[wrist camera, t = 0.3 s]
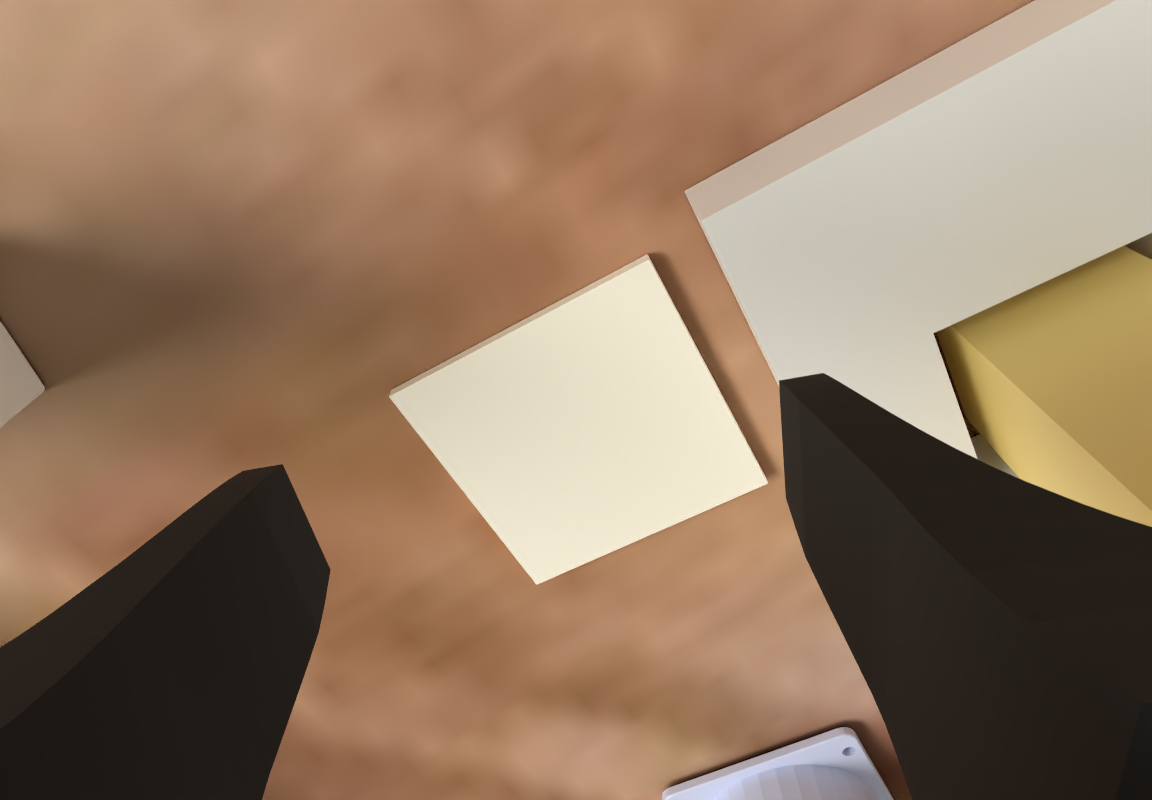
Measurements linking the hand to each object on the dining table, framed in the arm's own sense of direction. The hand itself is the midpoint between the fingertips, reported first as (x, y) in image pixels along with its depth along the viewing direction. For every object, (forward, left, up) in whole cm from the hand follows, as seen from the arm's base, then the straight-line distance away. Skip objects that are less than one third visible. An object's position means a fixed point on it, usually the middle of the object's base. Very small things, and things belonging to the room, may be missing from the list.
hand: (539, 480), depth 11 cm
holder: (-8, -10, -10) cm, 16 cm away
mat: (-5, +2, -10) cm, 11 cm away
